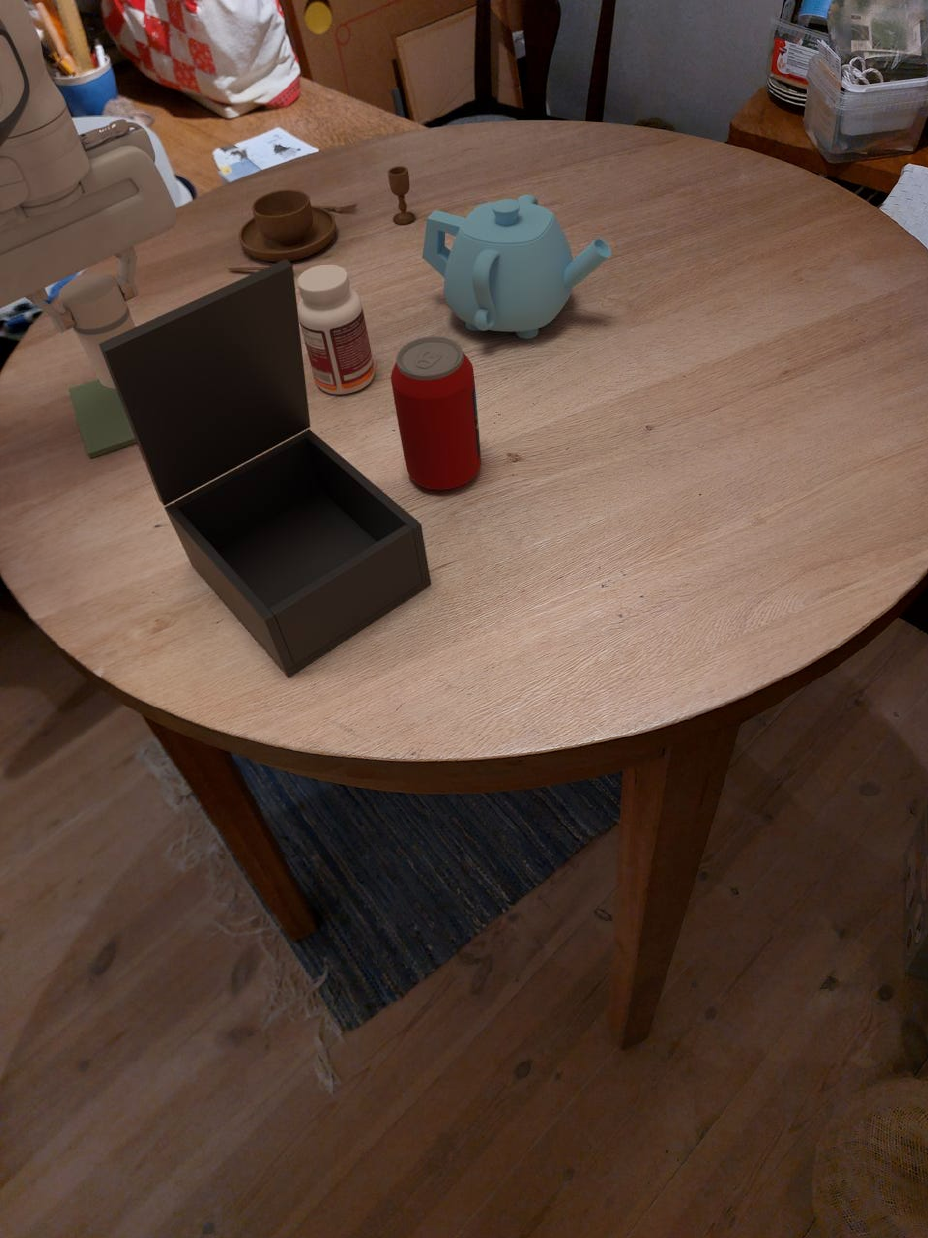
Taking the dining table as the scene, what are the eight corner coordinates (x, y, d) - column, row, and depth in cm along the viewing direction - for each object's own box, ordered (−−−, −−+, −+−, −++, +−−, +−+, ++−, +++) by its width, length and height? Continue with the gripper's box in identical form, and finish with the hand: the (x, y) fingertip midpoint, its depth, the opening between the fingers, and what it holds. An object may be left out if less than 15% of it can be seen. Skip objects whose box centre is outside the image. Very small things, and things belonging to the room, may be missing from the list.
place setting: (275, 204, 114) (263, 157, 110) (419, 212, 109) (413, 163, 105) (217, 274, 104) (201, 226, 99) (373, 286, 99) (365, 236, 95)
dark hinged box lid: (292, 265, 58) (286, 258, 58) (104, 351, 53) (98, 343, 53) (310, 427, 72) (305, 420, 73) (164, 506, 68) (159, 499, 68)
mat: (89, 458, 84) (87, 453, 83) (71, 393, 91) (68, 388, 90) (210, 418, 86) (208, 413, 86) (182, 357, 93) (180, 352, 93)
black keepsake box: (431, 584, 70) (421, 523, 64) (288, 678, 65) (264, 621, 60) (325, 489, 78) (309, 428, 73) (191, 566, 73) (163, 507, 68)
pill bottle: (377, 357, 90) (358, 256, 82) (374, 394, 86) (354, 291, 78) (317, 362, 90) (292, 262, 82) (312, 399, 87) (286, 298, 78)
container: (106, 395, 83) (64, 310, 76) (93, 368, 86) (52, 284, 79) (159, 376, 85) (123, 290, 78) (144, 350, 88) (108, 266, 81)
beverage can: (496, 459, 79) (488, 343, 69) (455, 505, 75) (441, 390, 66) (434, 438, 81) (418, 323, 72) (392, 481, 78) (370, 367, 69)
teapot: (400, 344, 91) (382, 235, 82) (458, 263, 101) (448, 157, 92) (584, 373, 86) (587, 259, 76) (628, 285, 95) (635, 174, 86)
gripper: (122, 102, 75) (176, 254, 86) (-111, 192, 67) (-19, 348, 78) (158, 120, 72) (210, 276, 83) (-81, 217, 64) (10, 375, 75)
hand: (97, 311), depth 80 cm, fingers closed on container, 5 cm apart
